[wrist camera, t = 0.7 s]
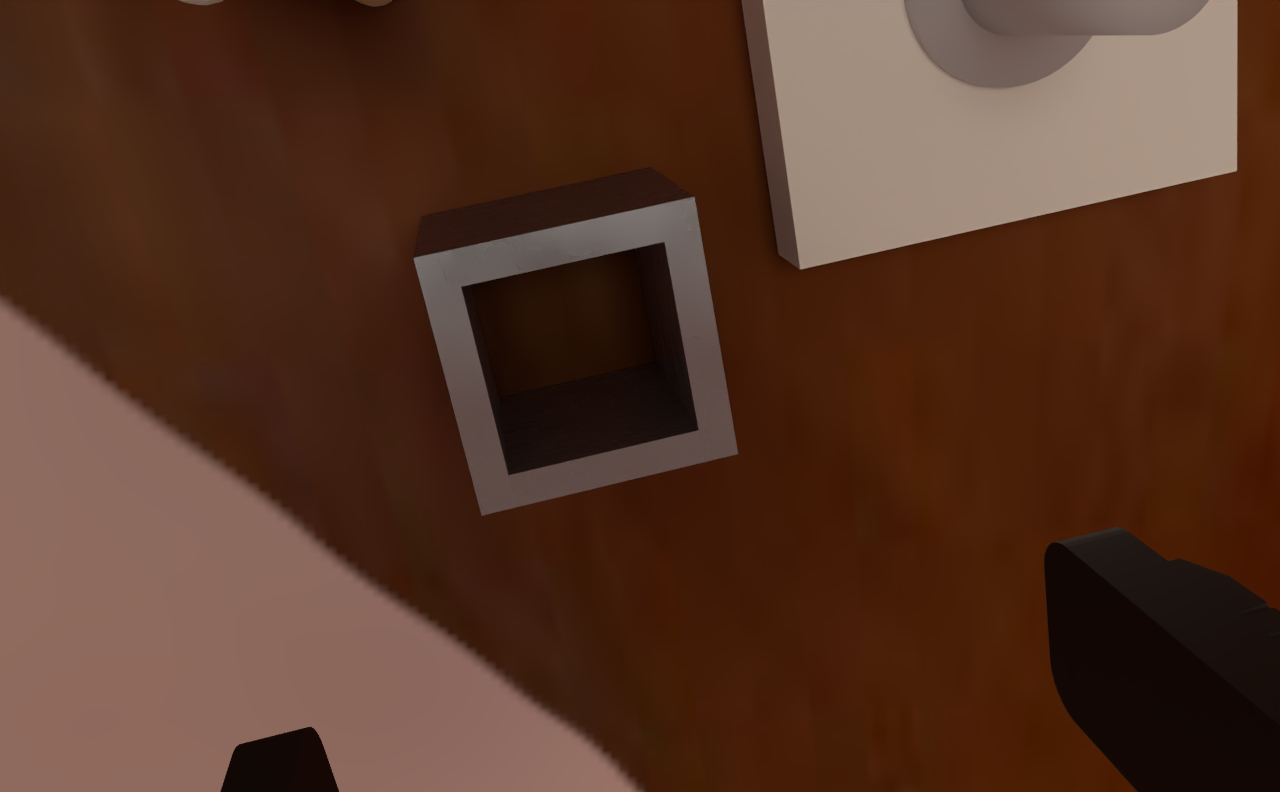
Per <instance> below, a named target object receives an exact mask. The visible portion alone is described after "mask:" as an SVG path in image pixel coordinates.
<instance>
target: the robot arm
mask: <svg viewBox="0 0 1280 792" xmlns="http://www.w3.org/2000/svg"><path fill="white" fill-rule="evenodd" d="M1044 570H1045V585H1046V601H1047V616H1048V632H1049V647H1050V662H1051V669H1052V675H1053V678H1054V682H1055V685H1056V688H1057V691H1058V693H1059V696H1060V698H1061V700H1062V702H1063V704H1064V706H1065V708H1066V710H1067V712H1068V713H1069V715H1070V716H1071V718H1072V719H1073V720H1074V722H1075V723H1076V724H1077V725H1078V726H1079V727H1080V728H1081V729H1082V731H1083V732H1084V733H1085V734H1086V735H1087V736H1088V737H1089V738H1090V739H1091V741H1092V742H1093V743H1094V744H1095V745H1096V746H1097V747H1098V748H1099V749H1100V751H1101V752H1102V753H1103V754H1104V755H1105V756H1106V757H1107V758H1108V759H1109V761H1110V762H1111V763H1112V764H1113V765H1114V766H1115V767H1116V768H1117V769H1118V770H1119V772H1120V773H1121V774H1122V775H1123V776H1124V777H1125V778H1126V779H1127V780H1128V782H1129V783H1130V784H1131V785H1132V786H1133V787H1134V788H1135V789H1136V790H1137V792H1280V611H1278V610H1277V609H1276V608H1271V609H1269V607H1268V606H1267V602H1266V601H1264V600H1263V599H1261V598H1260V597H1258V596H1257V595H1255V594H1254V593H1253V592H1251V591H1250V590H1248V589H1247V588H1245V587H1244V586H1243V585H1241V584H1240V583H1238V582H1237V581H1235V580H1234V579H1232V578H1231V577H1230V576H1227V575H1224V574H1221V573H1219V572H1216V571H1213V570H1210V569H1207V568H1205V567H1202V566H1199V565H1196V564H1193V563H1191V562H1188V561H1185V560H1182V559H1176V560H1172V561H1167V560H1166V559H1164V558H1163V557H1162V556H1160V555H1159V554H1158V553H1156V552H1155V551H1154V550H1152V549H1151V548H1149V547H1148V546H1147V545H1145V544H1144V543H1143V542H1141V541H1140V540H1139V539H1137V538H1136V537H1134V536H1133V535H1132V534H1130V533H1129V532H1128V531H1126V530H1124V529H1122V528H1119V527H1113V528H1109V529H1105V530H1101V531H1097V532H1093V533H1089V534H1085V535H1081V536H1077V537H1073V538H1070V539H1066V540H1062V541H1058V542H1054V543H1051V544H1050V545H1049V546H1048V547H1047V549H1046V553H1045V558H1044ZM221 792H339V790H338V787H337V784H336V781H335V779H334V776H333V773H332V770H331V767H330V764H329V761H328V758H327V755H326V752H325V750H324V747H323V744H322V741H321V739H320V737H319V735H318V733H317V732H316V731H315V729H314V728H312V727H307V728H303V729H299V730H295V731H291V732H287V733H283V734H279V735H275V736H271V737H267V738H263V739H259V740H255V741H251V742H247V743H243V744H239V745H238V746H237V747H236V748H235V750H234V752H233V754H232V758H231V761H230V764H229V767H228V770H227V773H226V776H225V779H224V783H223V786H222V789H221Z"/></svg>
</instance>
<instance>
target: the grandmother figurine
mask: <svg viewBox="0 0 1280 792" xmlns="http://www.w3.org/2000/svg"><path fill="white" fill-rule="evenodd" d="M179 1H182V2H185V3H190V4H196V5H211V4H215V3H219V2H221V1H223V0H179ZM356 1H357V2H359V3H361V4H365V5H368V6H374V7H377V6H383V5H386V4H388V3H390V2H391V1H392V0H356Z"/></svg>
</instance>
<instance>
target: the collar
mask: <svg viewBox="0 0 1280 792" xmlns="http://www.w3.org/2000/svg"><path fill="white" fill-rule="evenodd" d="M634 248H635V250H636V256H637V261H638V266H639V271H640V276H641V282H642V287H643V292H644V297H645V302H646V308H647V313H648V318H649V323H650V328H651V334H652V339H653V344H654V349H655V354H656V360H657V362H654V363H649V364H645V365H641V366H636V367H632V368H628V369H623V370H619V371H615V372H610V373H606V374H602V375H597V376H593V377H589V378H584V379H580V380H576V381H571V382H567V383H563V384H558V385H554V386H550V387H545V388H541V389H537V390H532V391H528V392H524V393H519V394H515V395H511V396H506V397H502V398H499V394H498V390H497V386H496V382H495V378H494V374H493V370H492V366H491V362H490V358H489V354H488V350H487V346H486V341H485V337H484V333H483V329H482V325H481V321H480V317H479V313H478V309H477V305H476V301H475V297H474V293H473V289H472V285H471V284H476V283H480V282H485V281H489V280H494V279H498V278H503V277H507V276H512V275H516V274H521V273H525V272H530V271H534V270H539V269H543V268H548V267H552V266H557V265H562V264H566V263H571V262H575V261H580V260H584V259H589V258H593V257H598V256H602V255H607V254H611V253H616V252H620V251H625V250H629V249H634ZM414 262H415V266H416V269H417V273H418V277H419V281H420V285H421V288H422V292H423V296H424V300H425V303H426V307H427V311H428V315H429V319H430V322H431V326H432V330H433V334H434V337H435V341H436V345H437V349H438V353H439V356H440V360H441V364H442V368H443V371H444V375H445V379H446V383H447V387H448V390H449V394H450V398H451V402H452V406H453V409H454V413H455V417H456V421H457V424H458V428H459V432H460V436H461V440H462V443H463V447H464V451H465V455H466V458H467V462H468V466H469V470H470V474H471V477H472V481H473V485H474V489H475V492H476V496H477V500H478V504H479V508H480V511H481V515H486V514H490V513H495V512H499V511H503V510H507V509H511V508H515V507H520V506H524V505H528V504H532V503H536V502H540V501H545V500H549V499H553V498H557V497H561V496H565V495H570V494H574V493H578V492H582V491H586V490H590V489H594V488H599V487H603V486H607V485H611V484H615V483H619V482H624V481H628V480H632V479H636V478H640V477H644V476H649V475H653V474H657V473H661V472H665V471H669V470H674V469H678V468H682V467H686V466H690V465H694V464H699V463H703V462H707V461H711V460H715V459H719V458H724V457H728V456H732V455H736V454H738V450H737V444H736V438H735V432H734V427H733V421H732V415H731V409H730V403H729V397H728V391H727V385H726V379H725V374H724V368H723V362H722V356H721V350H720V344H719V338H718V332H717V327H716V321H715V315H714V309H713V303H712V297H711V291H710V285H709V280H708V274H707V268H706V262H705V256H704V250H703V244H702V238H701V233H700V227H699V221H698V215H697V209H696V203H695V197H694V196H692V195H691V194H689V193H688V192H687V191H685V190H684V189H682V188H681V187H679V186H678V185H676V184H675V183H673V182H672V181H670V180H669V179H667V178H666V177H664V176H663V175H661V174H660V173H658V172H657V171H656V170H654V169H653V168H651V167H650V168H645V169H641V170H636V171H631V172H627V173H622V174H617V175H613V176H608V177H603V178H599V179H594V180H589V181H585V182H580V183H575V184H571V185H566V186H561V187H557V188H552V189H547V190H543V191H538V192H533V193H529V194H524V195H519V196H515V197H510V198H505V199H501V200H496V201H491V202H487V203H482V204H477V205H473V206H468V207H463V208H459V209H454V210H449V211H445V212H440V213H435V214H431V215H426V216H422V218H421V223H420V228H419V233H418V238H417V243H416V248H415V253H414Z"/></svg>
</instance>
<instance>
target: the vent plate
mask: <svg viewBox="0 0 1280 792" xmlns="http://www.w3.org/2000/svg"><path fill="white" fill-rule="evenodd" d="M741 2H742V9H743V16H744V22H745V29H746V36H747V43H748V50H749V57H750V64H751V70H752V77H753V84H754V91H755V98H756V105H757V111H758V118H759V125H760V132H761V139H762V146H763V153H764V159H765V166H766V173H767V180H768V187H769V194H770V200H771V207H772V214H773V221H774V228H775V235H776V242H777V248H778V255H780V256H781V257H783V258H784V259H786V260H787V261H789V262H790V263H792V264H793V265H795V266H796V267H797V268H799V269H805V268H809V267H814V266H818V265H822V264H827V263H831V262H836V261H840V260H845V259H849V258H853V257H858V256H862V255H867V254H871V253H876V252H880V251H884V250H889V249H893V248H898V247H902V246H907V245H911V244H915V243H920V242H924V241H929V240H933V239H938V238H942V237H946V236H951V235H955V234H960V233H964V232H969V231H973V230H977V229H982V228H986V227H991V226H995V225H1000V224H1004V223H1008V222H1013V221H1017V220H1022V219H1026V218H1031V217H1035V216H1039V215H1044V214H1048V213H1053V212H1057V211H1062V210H1066V209H1070V208H1075V207H1079V206H1084V205H1088V204H1093V203H1097V202H1101V201H1106V200H1110V199H1115V198H1119V197H1124V196H1128V195H1132V194H1137V193H1141V192H1146V191H1150V190H1155V189H1159V188H1163V187H1168V186H1172V185H1177V184H1181V183H1186V182H1190V181H1194V180H1199V179H1203V178H1208V177H1212V176H1217V175H1221V174H1225V173H1230V172H1234V171H1237V0H741Z"/></svg>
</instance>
